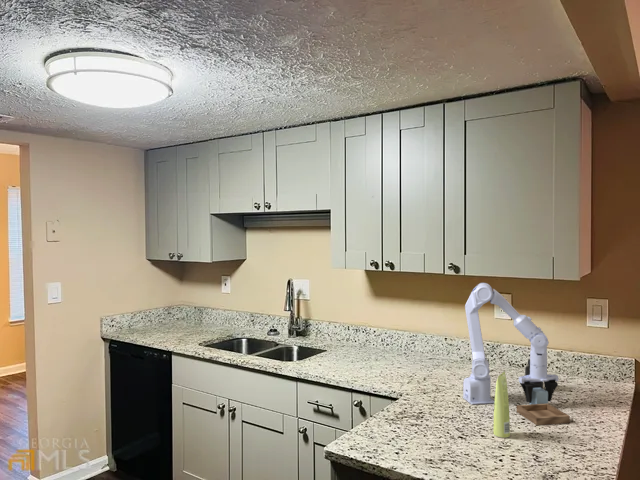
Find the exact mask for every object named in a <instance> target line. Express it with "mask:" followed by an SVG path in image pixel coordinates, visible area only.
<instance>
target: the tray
mask: <svg viewBox="0 0 640 480" xmlns="http://www.w3.org/2000/svg"><path fill="white" fill-rule="evenodd" d="M516 412H517V414H519V415H520V416H522V417H524V418H525V419H526V420H527V421H529V422H531V423H532V424H533V425H535V426H544V425H545V426H547V425H558V424H559V425H560V424H562V425H563V424H570V422H571V419H570V418H571V417H570V415H569V414H567V413H565V412H564V411H562V410H560V409H558V408H557V407H555V406H553V405H552V404H549V402H548V403H546V404H531V405H530V404H520V405H519V404H517V405H516Z"/></svg>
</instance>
